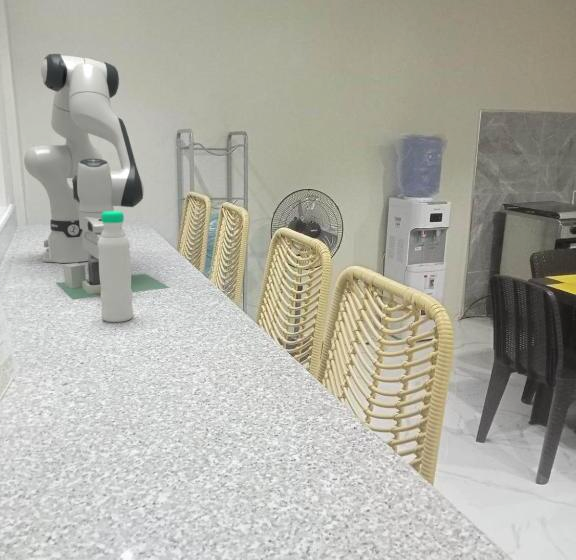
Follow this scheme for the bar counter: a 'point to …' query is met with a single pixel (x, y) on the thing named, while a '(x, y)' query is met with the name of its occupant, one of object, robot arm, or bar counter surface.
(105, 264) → the water bottle
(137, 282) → the board
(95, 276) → the plug
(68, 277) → the plug
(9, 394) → the bar counter surface
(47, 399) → the bar counter surface
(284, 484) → the bar counter surface
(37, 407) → the bar counter surface
